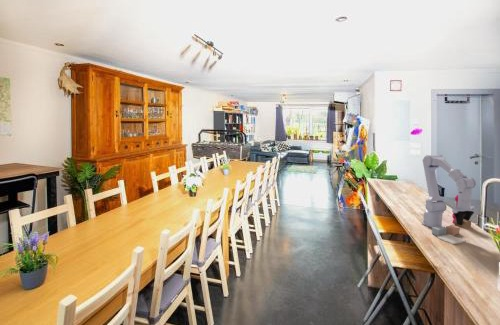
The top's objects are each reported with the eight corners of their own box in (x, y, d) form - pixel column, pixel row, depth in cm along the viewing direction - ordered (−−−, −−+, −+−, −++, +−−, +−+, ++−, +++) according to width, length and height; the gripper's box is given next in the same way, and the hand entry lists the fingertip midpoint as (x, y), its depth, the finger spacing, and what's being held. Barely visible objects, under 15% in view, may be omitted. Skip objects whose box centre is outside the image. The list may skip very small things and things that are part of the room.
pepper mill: (452, 220, 185) (454, 190, 182) (466, 223, 180) (468, 192, 177) (451, 223, 179) (453, 192, 176) (465, 226, 175) (468, 194, 172)
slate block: (438, 236, 161) (438, 229, 161) (431, 233, 165) (432, 227, 164) (446, 235, 163) (446, 228, 162) (439, 232, 167) (440, 226, 166)
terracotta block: (452, 235, 162) (452, 228, 162) (445, 233, 166) (445, 226, 165) (459, 233, 164) (459, 227, 164) (452, 231, 168) (452, 224, 167)
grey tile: (437, 238, 159) (437, 236, 159) (449, 235, 162) (449, 234, 161) (453, 244, 150) (453, 242, 150) (465, 241, 153) (465, 240, 153)
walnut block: (454, 225, 158) (454, 218, 158) (459, 224, 160) (460, 217, 159) (465, 229, 153) (466, 222, 152) (470, 228, 154) (471, 221, 154)
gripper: (462, 203, 148) (460, 228, 150) (481, 200, 153) (479, 224, 155) (449, 199, 155) (447, 223, 157) (467, 197, 159) (465, 220, 161)
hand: (462, 223), depth 156 cm, fingers closed on walnut block, 4 cm apart
